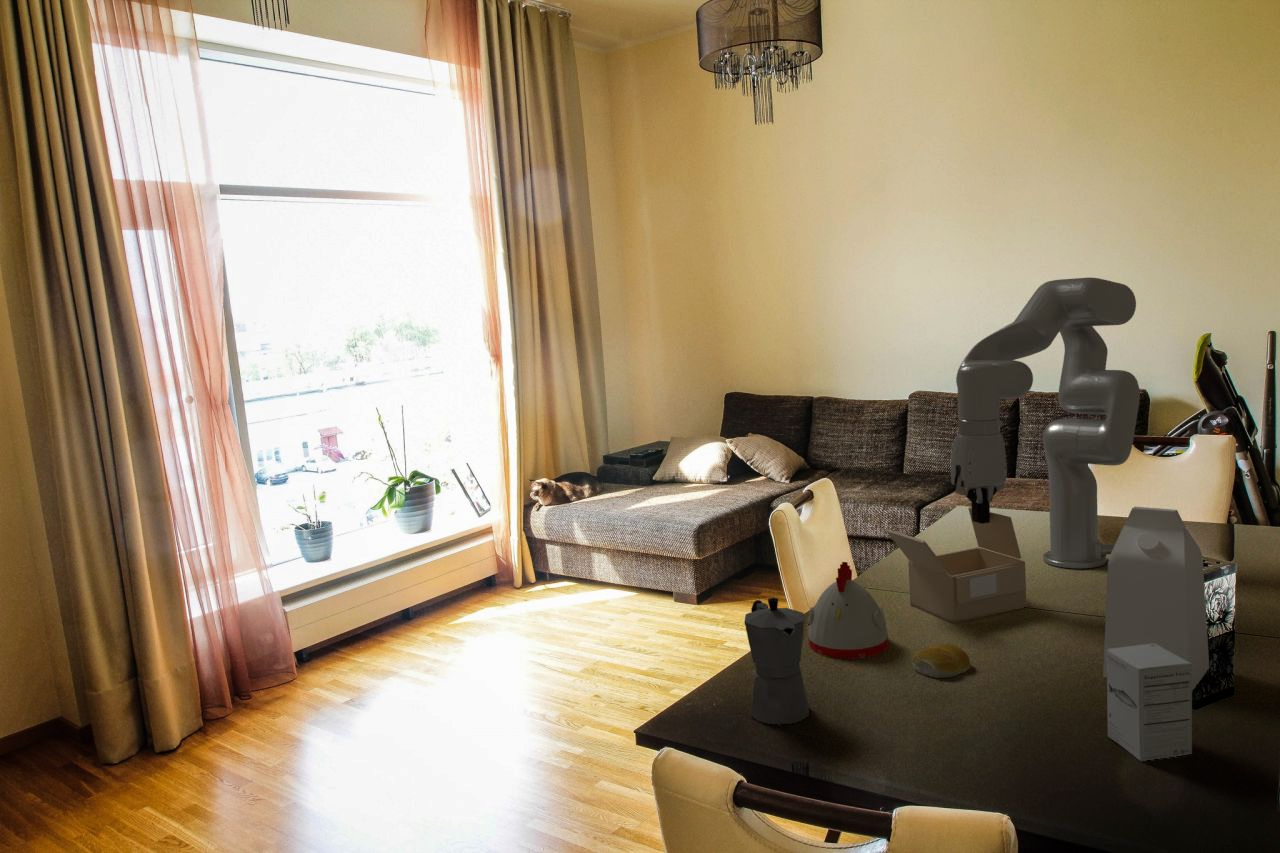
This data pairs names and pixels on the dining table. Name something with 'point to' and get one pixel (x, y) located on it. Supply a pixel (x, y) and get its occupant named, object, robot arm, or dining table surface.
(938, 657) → the bread roll
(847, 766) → the dining table surface
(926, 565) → the flap
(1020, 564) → the carton
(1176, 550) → the milk
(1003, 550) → the flap
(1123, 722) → the supplement box
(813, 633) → the kitchen timer
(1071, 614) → the dining table surface
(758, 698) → the coffeepot
